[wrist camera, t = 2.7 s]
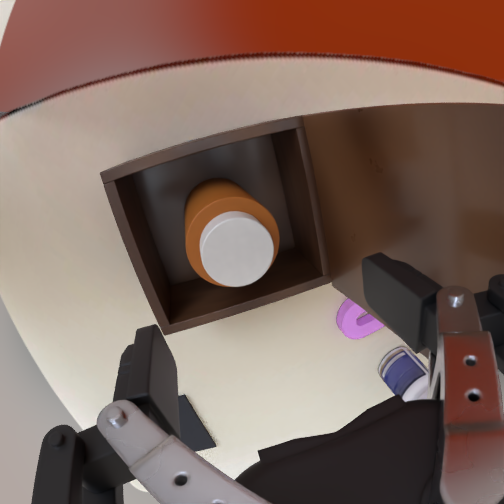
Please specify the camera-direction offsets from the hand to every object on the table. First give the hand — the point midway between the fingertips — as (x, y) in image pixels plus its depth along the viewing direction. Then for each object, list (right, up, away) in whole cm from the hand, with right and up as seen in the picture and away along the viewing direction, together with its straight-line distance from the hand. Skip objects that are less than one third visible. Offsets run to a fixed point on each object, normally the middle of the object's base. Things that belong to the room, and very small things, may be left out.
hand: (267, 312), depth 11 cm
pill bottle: (+20, -14, +29) cm, 38 cm away
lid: (+6, +3, +3) cm, 8 cm away
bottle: (-4, +6, +15) cm, 17 cm away
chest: (-4, +6, +16) cm, 18 cm away
